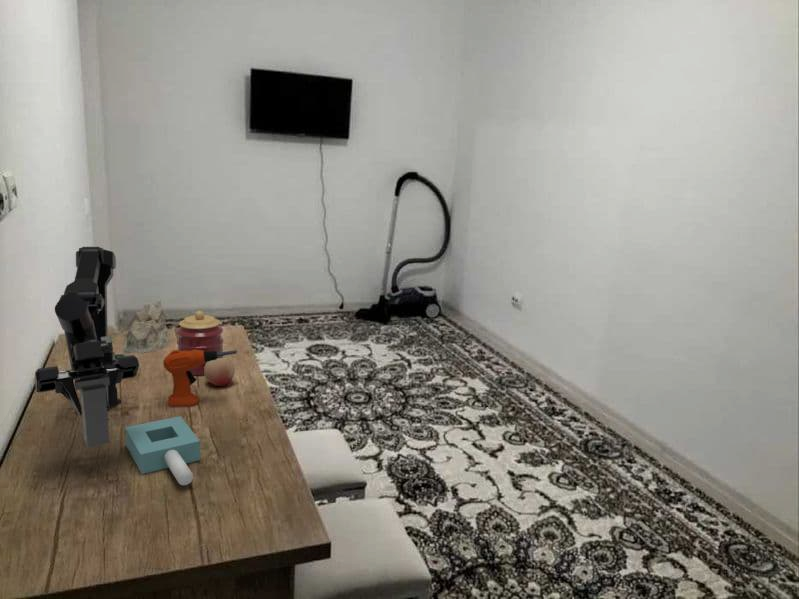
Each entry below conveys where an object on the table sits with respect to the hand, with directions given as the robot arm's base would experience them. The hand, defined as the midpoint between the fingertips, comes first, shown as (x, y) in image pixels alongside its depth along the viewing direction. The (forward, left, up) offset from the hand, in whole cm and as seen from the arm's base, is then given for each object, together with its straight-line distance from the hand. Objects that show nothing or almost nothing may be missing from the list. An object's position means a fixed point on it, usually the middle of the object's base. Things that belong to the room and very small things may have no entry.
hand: (95, 411), depth 125 cm
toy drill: (-3, +38, -14) cm, 40 cm away
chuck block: (+10, +9, -13) cm, 19 cm away
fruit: (-6, +50, -14) cm, 52 cm away
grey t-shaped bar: (-1, +1, -7) cm, 7 cm away
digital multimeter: (-45, +46, -14) cm, 65 cm away
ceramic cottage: (-48, +67, -14) cm, 84 cm away
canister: (-18, +58, -14) cm, 62 cm away
